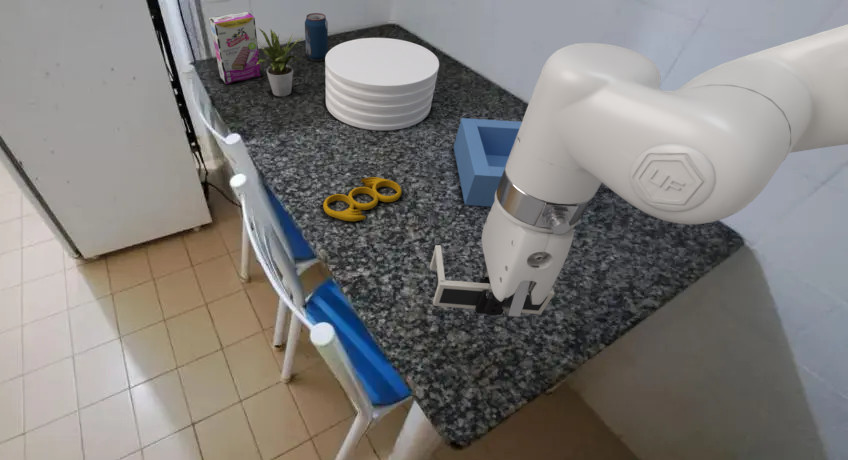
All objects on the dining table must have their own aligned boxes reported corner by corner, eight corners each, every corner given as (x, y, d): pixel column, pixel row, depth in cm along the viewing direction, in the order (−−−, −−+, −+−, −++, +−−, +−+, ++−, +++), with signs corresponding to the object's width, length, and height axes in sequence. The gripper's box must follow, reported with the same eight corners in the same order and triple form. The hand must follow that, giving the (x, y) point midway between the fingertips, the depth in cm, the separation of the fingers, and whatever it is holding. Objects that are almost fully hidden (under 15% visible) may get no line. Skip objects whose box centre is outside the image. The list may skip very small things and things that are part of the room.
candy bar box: (226, 85, 110) (213, 23, 98) (220, 78, 113) (207, 17, 101) (262, 76, 114) (254, 15, 103) (255, 70, 117) (247, 10, 106)
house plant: (241, 92, 108) (230, 29, 96) (277, 75, 115) (271, 15, 103) (277, 109, 102) (270, 44, 90) (313, 90, 109) (310, 27, 97)
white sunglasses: (540, 314, 48) (555, 294, 45) (433, 306, 49) (440, 285, 46) (528, 273, 53) (540, 252, 49) (429, 266, 53) (435, 244, 50)
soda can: (331, 54, 126) (331, 14, 117) (322, 63, 121) (321, 21, 113) (311, 51, 127) (310, 11, 119) (302, 59, 123) (300, 18, 114)
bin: (541, 152, 89) (555, 123, 84) (569, 212, 75) (587, 182, 70) (453, 147, 90) (461, 117, 85) (464, 205, 77) (474, 174, 71)
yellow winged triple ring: (314, 197, 78) (335, 229, 72) (314, 191, 77) (335, 223, 70) (386, 176, 83) (412, 205, 77) (387, 170, 82) (413, 199, 75)
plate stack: (452, 114, 100) (463, 70, 92) (357, 141, 92) (360, 95, 83) (393, 71, 118) (397, 31, 109) (308, 90, 109) (306, 48, 100)
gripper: (619, 260, 30) (533, 367, 43) (558, 148, 41) (504, 261, 54) (518, 253, 30) (464, 361, 44) (485, 144, 41) (449, 257, 54)
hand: (486, 305), depth 49 cm, fingers closed on white sunglasses, 1 cm apart
